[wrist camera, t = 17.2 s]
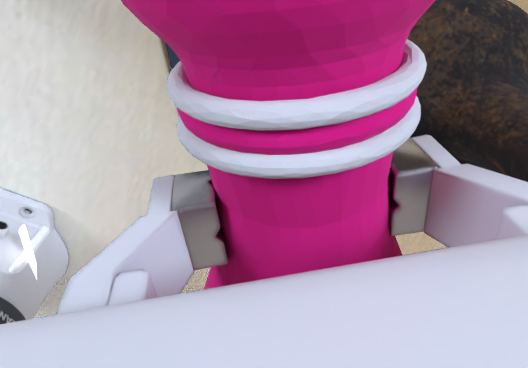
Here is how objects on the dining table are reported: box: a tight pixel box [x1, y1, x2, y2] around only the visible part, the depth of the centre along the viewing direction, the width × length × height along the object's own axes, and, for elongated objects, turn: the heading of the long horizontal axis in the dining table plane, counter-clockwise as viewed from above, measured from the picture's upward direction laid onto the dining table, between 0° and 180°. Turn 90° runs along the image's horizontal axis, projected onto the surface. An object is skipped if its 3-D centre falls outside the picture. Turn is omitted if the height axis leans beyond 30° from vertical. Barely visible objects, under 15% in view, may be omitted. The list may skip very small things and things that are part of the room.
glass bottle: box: [407, 0, 528, 182], centre depth 32 cm, size 18×18×28 cm
